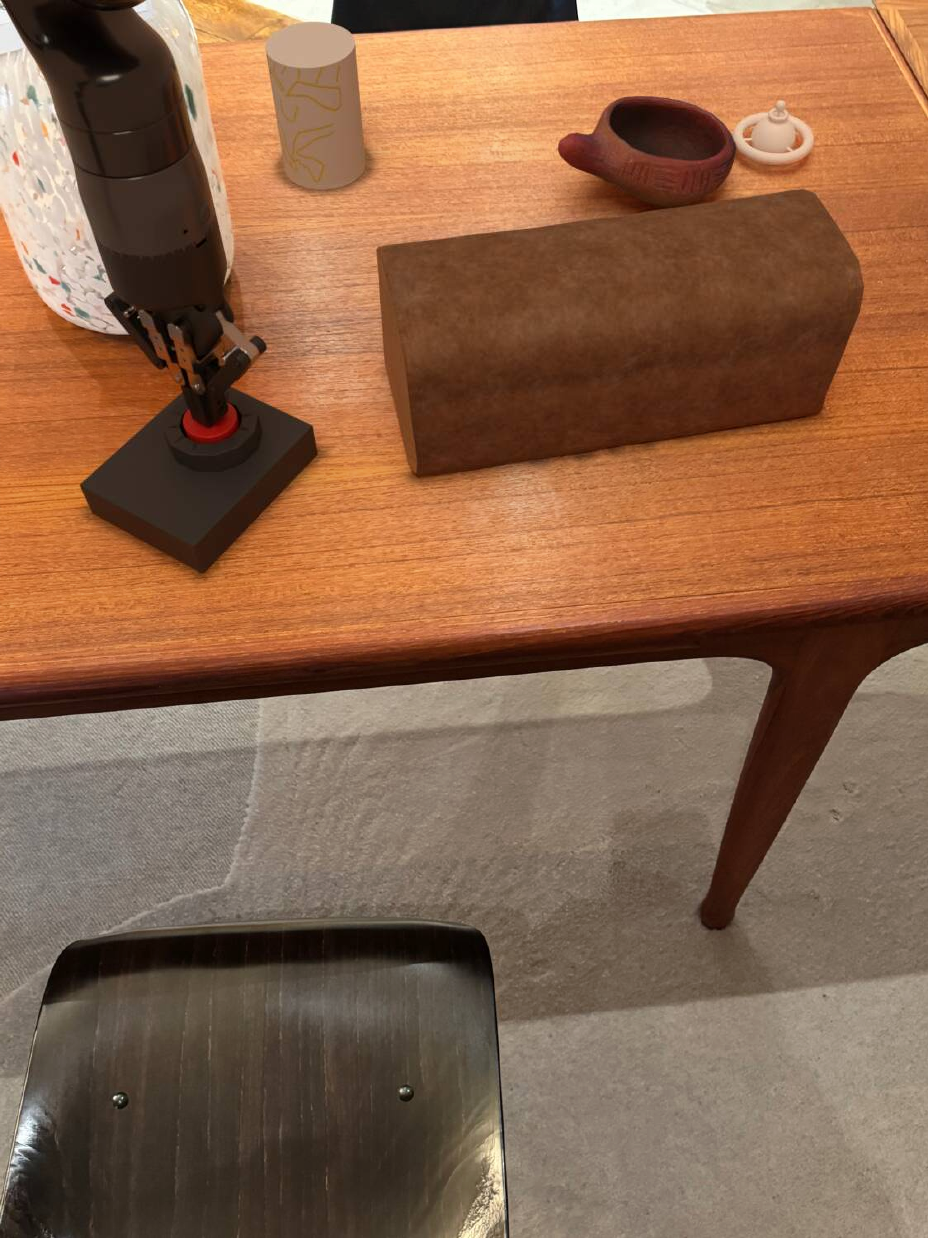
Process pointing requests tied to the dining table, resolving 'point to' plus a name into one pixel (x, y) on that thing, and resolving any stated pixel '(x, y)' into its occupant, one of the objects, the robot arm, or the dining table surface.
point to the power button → (213, 434)
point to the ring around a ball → (773, 137)
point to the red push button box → (199, 479)
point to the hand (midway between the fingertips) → (210, 417)
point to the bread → (614, 329)
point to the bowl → (655, 150)
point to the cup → (317, 104)
